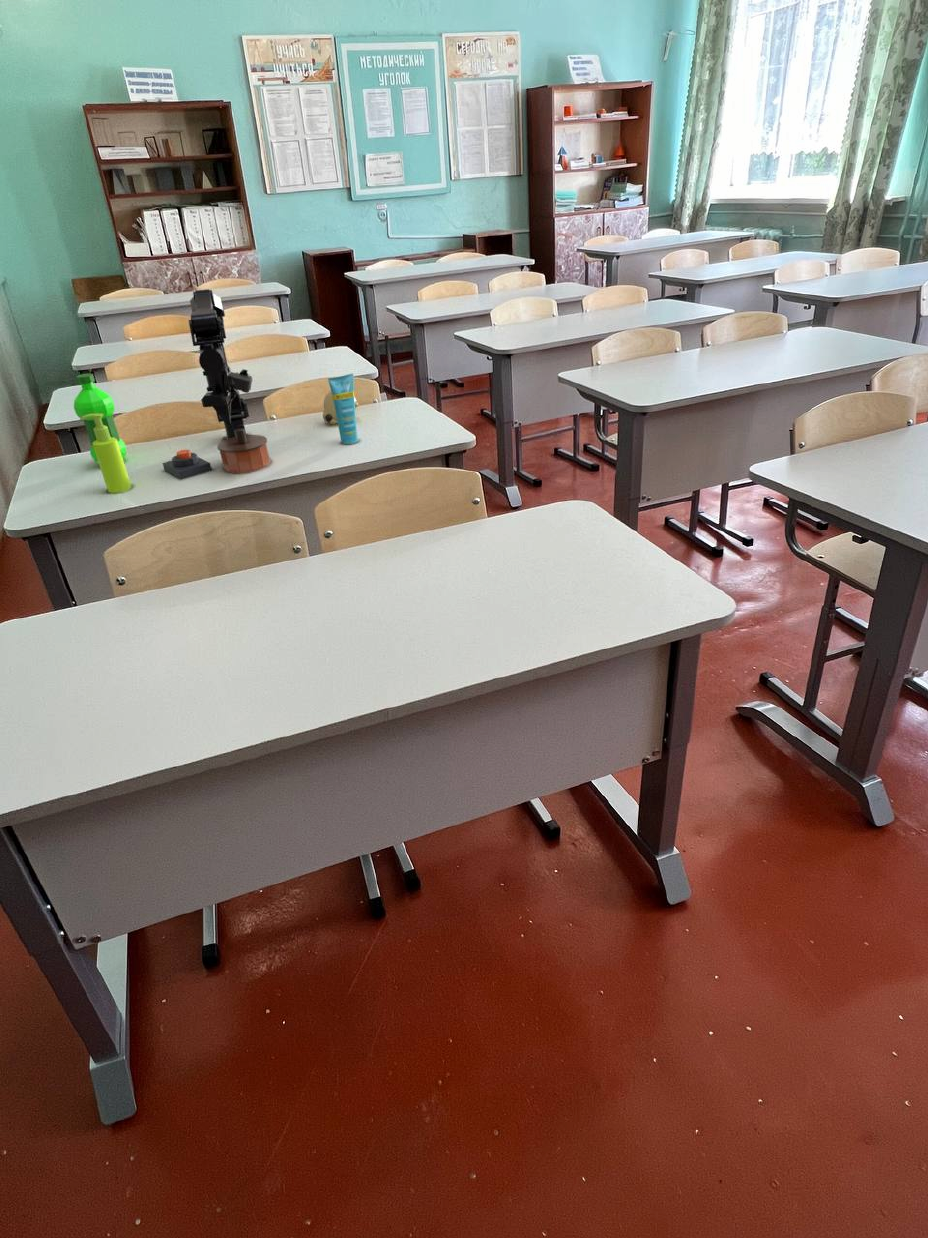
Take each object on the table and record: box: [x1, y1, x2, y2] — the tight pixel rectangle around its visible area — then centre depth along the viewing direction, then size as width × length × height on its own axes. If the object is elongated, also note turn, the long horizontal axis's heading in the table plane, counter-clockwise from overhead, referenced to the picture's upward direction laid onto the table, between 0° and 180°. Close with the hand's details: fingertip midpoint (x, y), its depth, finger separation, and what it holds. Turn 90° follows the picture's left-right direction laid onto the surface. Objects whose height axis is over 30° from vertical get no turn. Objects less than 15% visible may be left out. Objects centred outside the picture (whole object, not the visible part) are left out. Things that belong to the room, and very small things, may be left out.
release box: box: [162, 452, 213, 480], centre depth 209 cm, size 11×9×4 cm
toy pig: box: [322, 389, 359, 426], centre depth 238 cm, size 10×12×11 cm
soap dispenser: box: [79, 414, 132, 494], centre depth 196 cm, size 6×7×20 cm
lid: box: [216, 428, 268, 453], centre depth 207 cm, size 13×13×4 cm
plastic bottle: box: [73, 373, 127, 464], centre depth 214 cm, size 10×10×25 cm
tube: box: [327, 373, 359, 445], centre depth 218 cm, size 7×5×19 cm, turn 123°
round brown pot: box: [219, 443, 271, 474], centre depth 209 cm, size 12×12×6 cm
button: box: [176, 449, 192, 459], centre depth 208 cm, size 4×4×2 cm
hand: (228, 423), depth 204 cm, fingers closed
